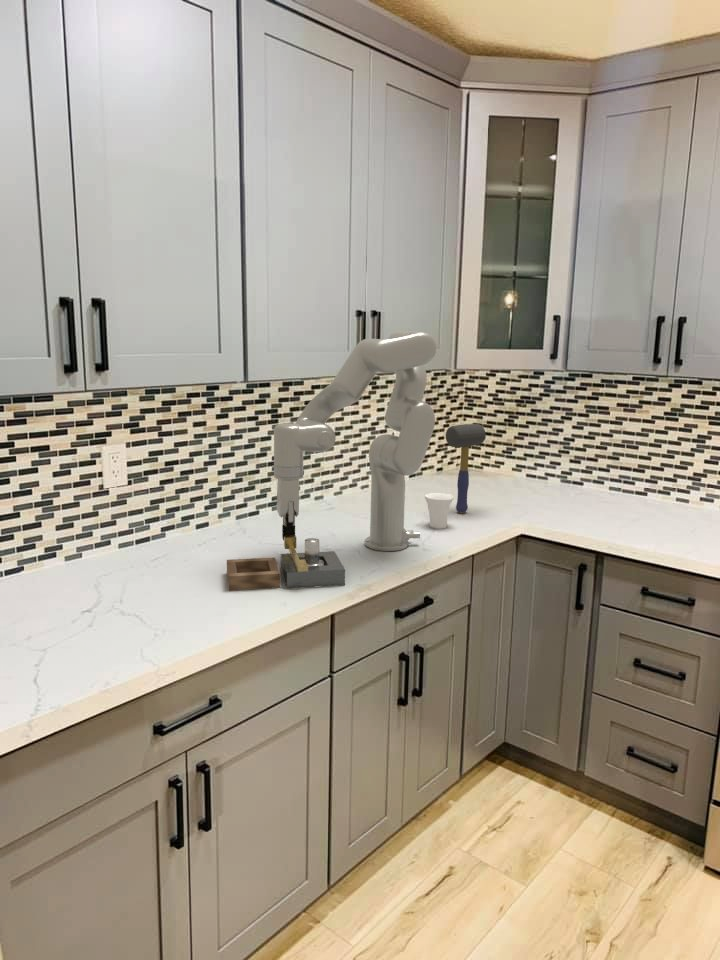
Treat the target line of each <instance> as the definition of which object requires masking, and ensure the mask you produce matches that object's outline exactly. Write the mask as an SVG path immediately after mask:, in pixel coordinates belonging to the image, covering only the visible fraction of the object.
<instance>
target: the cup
mask: <svg viewBox="0 0 720 960" xmlns="http://www.w3.org/2000/svg"><path fill="white" fill-rule="evenodd" d="M424 499H425V502H426V505H427V509H428V514H429V524H428V525H429V527H430V528H431V529H437V530H439V529H440V530H441V529H446V528H447V527H448V516H449V510H450V507H451V504H452V502H453V501H454V494H449V493H443V492H429V493H426V494H425V495H424Z"/></svg>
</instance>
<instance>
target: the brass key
mask: <svg viewBox="0 0 720 960" xmlns="http://www.w3.org/2000/svg"><path fill="white" fill-rule="evenodd" d="M283 547H284V550H288V552H289V553H290V554H291V557H292V559H293V562H294V564H295V567H296V569H297V572H306V571H308V565H307V563H306V561H305V559H304V560H300V559H299V557H298V555H297V553H298V552H297V536H296V534H295V535H287V536H284V540H283Z"/></svg>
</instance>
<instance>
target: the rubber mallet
mask: <svg viewBox="0 0 720 960" xmlns="http://www.w3.org/2000/svg"><path fill="white" fill-rule="evenodd" d="M486 435H487V433H486V430H485V427H484V426H483V425H481V424H479V423H463V424H457V425H450V426H449V427H448V428H447V429H446V431H445V442H446V443H447V445H448V446H449V447H451V448H460V449H461V450H460V462H459V463H460V465H459V466H460V467H459V472H458V473H457V474H458V476H457V486H456V487H457V499H456V500H457V501H456V505H455V510H456V512H457V513H459V514H466V513H467V511H468V506H469V505H468V491H469V485H470V483H469V482H470V481H469V480H470V479H469V478H470V477H469V476H470V475H469V452H470V451H469V449H470V447H474V446H479V445H482V444H483V443H484V442H485V440H486Z"/></svg>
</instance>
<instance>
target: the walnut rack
mask: <svg viewBox="0 0 720 960" xmlns="http://www.w3.org/2000/svg"><path fill="white" fill-rule="evenodd" d="M279 568H280V567H279V566H278V562H277V559H276V556H275V557H273V556H272V557H271V556H270V557H254V558H237V559H236V558H235V559H226V577H227V584H228V591H229V592H230V591H231V592H232V591H244V590H245V591H246V590H247V591H248V590H261V589H262V590H264V589H275V588H276V589H277V588H281V570H280V569H279Z"/></svg>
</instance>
